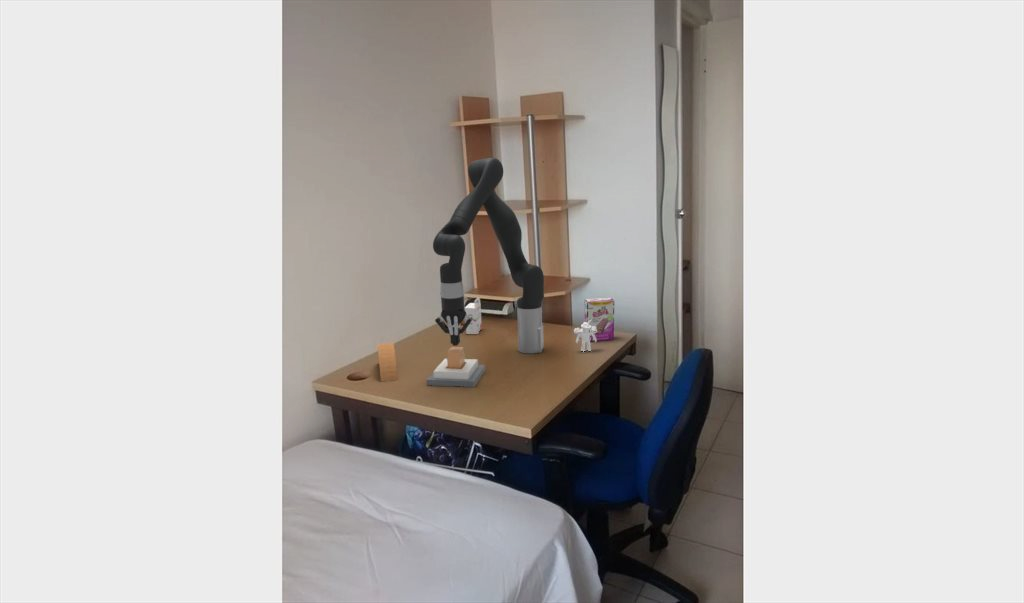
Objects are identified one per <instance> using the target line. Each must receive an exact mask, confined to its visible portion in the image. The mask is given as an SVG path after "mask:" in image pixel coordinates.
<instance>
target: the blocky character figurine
mask: <svg viewBox="0 0 1024 603" xmlns="http://www.w3.org/2000/svg"><path fill="white" fill-rule="evenodd" d="M591 321H592V319H591V320H590V321H589V322H588V323H590V322H591ZM588 323H587V322H584V321H583V323H581V325H580V327H581V328H580V327H577V328H576V327H575V328H574V329H573V334H574V335H576V339H575V343H576V344H579V343H578V342H580V341H581V347H580V352H581V351H583V352H582V353H585V352H584V351H586V350H588V351H591V350H592V348H591V347H592V344H591V341H590V335H592V337H593V340H595V341H594V343H597V342H598V341H597V339H596V337H595V335H594V333H596V332H597V328H595V327H596V326H592V328H591V326H590V325H589V324H588ZM590 328H591V329H590ZM593 331H596V332H593ZM580 338H581V340H580ZM588 351H587V352H588ZM591 352H592V351H591Z"/></svg>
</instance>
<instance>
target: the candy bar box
mask: <svg viewBox="0 0 1024 603" xmlns="http://www.w3.org/2000/svg"><path fill="white" fill-rule="evenodd" d="M583 303H584V313H583V314H584V315H583V316H584V317H583V318H584V320H583V323H584V322H587V323H588V322H589V321H590V320H591V319H592V321H591V322H590V323H588V324H589V325H590V326H591V328H592V326H596V327H595V328H597V332H596V331H593V332H596V333H594V335H595V337H596V339H597V341H596V342H601V341H614V339H615V338H614V337H615V336H614V334H615V333H614V330H615V299H613V298H612V297H603V298H602V297H600V298H585V299H584V301H583ZM591 328H590V329H591ZM590 342H595V340H593V337H592V335H590Z"/></svg>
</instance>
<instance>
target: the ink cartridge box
mask: <svg viewBox="0 0 1024 603" xmlns="http://www.w3.org/2000/svg"><path fill="white" fill-rule="evenodd" d="M464 307H465V312H466V315H467V316H468V317H472V318H473V320H472V321H471V323H470V324H469V325H468V327H467V328H466V330H465V332H466V334H477V335H478V334H479V333H480V332H481V331H482V330H483V328H482V327H483V326H482V308H481V307H482V306H481V297H480V296H478V297H477V298H476V299H475V300H474V302H469V303H468V304H467V305H466V306H464ZM480 330H481V331H480ZM479 331H480V332H479Z"/></svg>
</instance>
